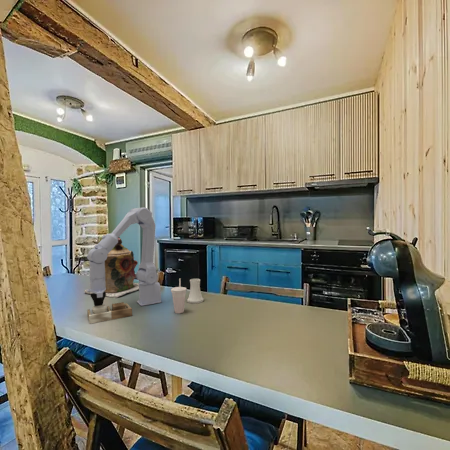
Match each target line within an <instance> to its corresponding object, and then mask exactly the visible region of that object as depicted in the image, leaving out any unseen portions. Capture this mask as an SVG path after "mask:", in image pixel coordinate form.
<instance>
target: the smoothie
mask: <svg viewBox="0 0 450 450" xmlns="http://www.w3.org/2000/svg"><path fill="white" fill-rule="evenodd" d="M181 279H182V278H179V279H178V281H179V283H178V286H175V287H172V288H171V290H170V292H171V296H172V304H173V309H174V313H175V314H183V313H184V312H185V302H186V292H187V287H186V286H185V287H183V286H181V284H182V283H181V282H182V281H181Z"/></svg>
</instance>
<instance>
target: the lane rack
mask: <svg viewBox="0 0 450 450" xmlns="http://www.w3.org/2000/svg"><path fill="white" fill-rule="evenodd" d="M124 304H125V308H126V309H121V310H115V311H112V308H110V306H109V305H108V306H106V312H104V313H98V314H93V313H91V310H90V308H89V309H87V310H86V311H87V319H88V324H90V325H92V324H95V323H97V324H98V323H101V322H107V321H112V320H117V319H122V318H127V317H132V316H133V308H132V307H131V306H130V305H129V304H128V303H127V302H126V303H124Z"/></svg>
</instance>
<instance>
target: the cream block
mask: <svg viewBox="0 0 450 450" xmlns="http://www.w3.org/2000/svg"><path fill="white" fill-rule="evenodd" d="M104 312H107V306H106V304H103V305H100V306H92V315H93V314H98V313H104Z"/></svg>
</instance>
